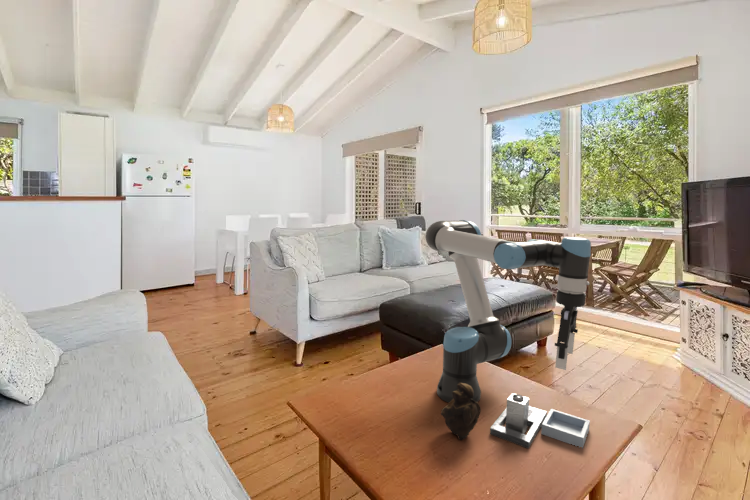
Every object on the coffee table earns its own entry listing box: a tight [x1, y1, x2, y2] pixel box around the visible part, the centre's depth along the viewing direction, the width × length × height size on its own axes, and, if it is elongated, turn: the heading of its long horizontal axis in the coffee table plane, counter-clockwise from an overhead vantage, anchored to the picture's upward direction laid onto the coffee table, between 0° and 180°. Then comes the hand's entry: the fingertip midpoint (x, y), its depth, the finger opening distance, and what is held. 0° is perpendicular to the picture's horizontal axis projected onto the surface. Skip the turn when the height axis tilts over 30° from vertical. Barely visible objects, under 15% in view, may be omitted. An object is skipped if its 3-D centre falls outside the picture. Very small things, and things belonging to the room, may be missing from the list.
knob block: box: [504, 392, 530, 435], centre depth 116 cm, size 5×5×11 cm
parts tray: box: [540, 408, 591, 449], centre depth 116 cm, size 11×11×3 cm
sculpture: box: [440, 383, 482, 441], centre depth 113 cm, size 11×11×15 cm
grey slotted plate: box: [489, 405, 548, 450], centre depth 119 cm, size 11×20×2 cm, turn 143°
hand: (564, 360), depth 115 cm, fingers open, 13 cm apart
